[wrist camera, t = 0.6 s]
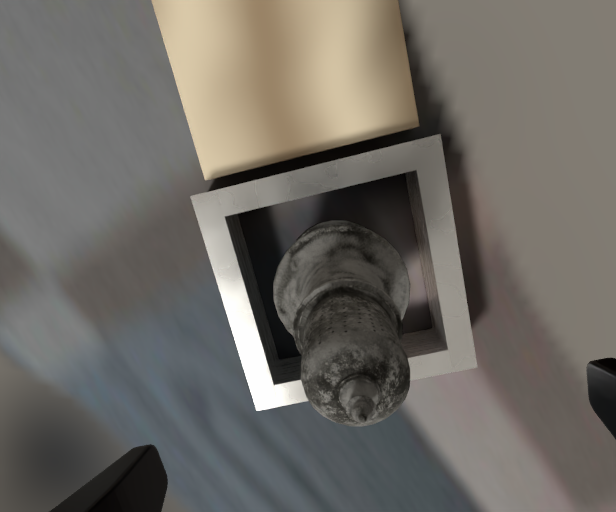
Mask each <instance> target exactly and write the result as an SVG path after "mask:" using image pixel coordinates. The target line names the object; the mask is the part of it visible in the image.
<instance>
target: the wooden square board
mask: <svg viewBox="0 0 616 512" xmlns="http://www.w3.org/2000/svg"><path fill="white" fill-rule="evenodd" d="M152 3H153V7H154V10H155V13H156V17H157V20H158V23H159V27H160V30H161V33H162V37H163V40H164V43H165V47H166V50H167V54H168V57H169V60H170V64H171V67H172V70H173V74H174V77H175V80H176V84H177V87H178V91H179V94H180V97H181V101H182V104H183V107H184V111H185V114H186V117H187V121H188V124H189V127H190V131H191V134H192V138H193V141H194V144H195V148H196V151H197V154H198V158H199V161H200V164H201V168H202V171H203V174H204V178H205V180H210V179H215V178H219V177H223V176H227V175H231V174H235V173H239V172H243V171H247V170H251V169H255V168H259V167H263V166H267V165H271V164H275V163H279V162H283V161H286V160H290V159H294V158H298V157H302V156H306V155H310V154H314V153H318V152H322V151H326V150H330V149H334V148H338V147H342V146H346V145H350V144H354V143H358V142H362V141H366V140H370V139H374V138H378V137H382V136H386V135H390V134H394V133H398V132H401V131H405V130H409V129H413V128H416V127H418V126H419V121H418V115H417V109H416V103H415V97H414V91H413V85H412V79H411V74H410V68H409V62H408V56H407V50H406V44H405V38H404V32H403V26H402V20H401V14H400V8H399V2H398V0H152Z"/></svg>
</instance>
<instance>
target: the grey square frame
mask: <svg viewBox="0 0 616 512" xmlns="http://www.w3.org/2000/svg"><path fill="white" fill-rule="evenodd" d="M402 173H405V178H406V183H407V189H408V194H409V200H410V205H411V211H412V216H413V222H414V227H415V233H416V238H417V244H418V249H419V255H420V260H421V266H422V271H423V277H424V282H425V288H426V293H427V299H428V304H429V310H430V315H431V321H432V326H433V328H430V329H425V330H420V331H416V332H411V333H406V334H402V339H401V344H402V346H403V349H404V351H405V353H406V355H407V358H408V362H409V366H410V381H411V380H416V379H421V378H426V377H432V376H437V375H442V374H447V373H452V372H457V371H462V370H467V369H472V368H477V362H476V355H475V349H474V343H473V336H472V330H471V324H470V317H469V311H468V305H467V298H466V292H465V286H464V279H463V273H462V267H461V260H460V254H459V248H458V241H457V235H456V229H455V222H454V216H453V210H452V203H451V197H450V191H449V184H448V178H447V172H446V165H445V159H444V153H443V146H442V140H441V134H438V135H434V136H430V137H426V138H422V139H418V140H414V141H410V142H406V143H402V144H398V145H394V146H390V147H386V148H382V149H378V150H374V151H370V152H366V153H362V154H358V155H354V156H350V157H346V158H342V159H338V160H334V161H330V162H326V163H322V164H318V165H314V166H310V167H306V168H302V169H298V170H294V171H290V172H286V173H282V174H278V175H274V176H270V177H266V178H262V179H258V180H254V181H250V182H246V183H242V184H238V185H234V186H230V187H226V188H222V189H218V190H214V191H210V192H206V193H202V194H198V195H193V196H190V197H191V200H192V203H193V206H194V210H195V213H196V216H197V219H198V222H199V226H200V229H201V232H202V235H203V239H204V242H205V245H206V248H207V252H208V255H209V258H210V261H211V265H212V268H213V271H214V274H215V277H216V281H217V284H218V287H219V290H220V294H221V297H222V300H223V303H224V307H225V310H226V313H227V316H228V319H229V323H230V326H231V329H232V332H233V336H234V339H235V342H236V345H237V349H238V352H239V355H240V358H241V362H242V365H243V368H244V371H245V374H246V378H247V381H248V384H249V387H250V391H251V394H252V397H253V400H254V404H255V407H256V410H257V411H259V410H264V409H269V408H274V407H279V406H284V405H290V404H295V403H300V402H305V401H309V400H308V399H307V397H306V394H305V391H304V388H303V385H302V381H301V359H302V355H300V356H295V357H290V358H286V359H281V360H279V358H278V354H277V351H276V347H275V344H274V340H273V337H272V333H271V330H270V326H269V322H268V319H267V315H266V312H265V308H264V305H263V301H262V298H261V294H260V291H259V287H258V284H257V280H256V277H255V273H254V270H253V266H252V263H251V259H250V256H249V252H248V249H247V245H246V242H245V238H244V235H243V231H242V228H241V224H240V221H239V217H238V214H237V213H241V212H245V211H250V210H254V209H258V208H262V207H266V206H270V205H274V204H278V203H282V202H287V201H291V200H295V199H299V198H303V197H307V196H311V195H315V194H319V193H324V192H328V191H332V190H336V189H340V188H344V187H348V186H352V185H357V184H361V183H365V182H369V181H373V180H377V179H381V178H385V177H389V176H394V175H398V174H402Z"/></svg>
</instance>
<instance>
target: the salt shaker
mask: <svg viewBox="0 0 616 512" xmlns="http://www.w3.org/2000/svg"><path fill="white" fill-rule="evenodd" d="M273 291H274V303H275V306H276V310H277V313H278V316H279V318H280V320H281V321H282V323H283V324H284V326H285V328H286V329H287V331H288V332H289V333H291V334H292V335H293V336H294V339H295V343H296V346H297V349H298V350H299V352H300V353H301V355H302V359H301V381H302V385H303V388H304V391H305V394H306V397H307V399H308V400H309V402H310V403H311V405H312V406H313V408H314V409H316V410H317V411H318V412H319V413H320V414H321V415H322V416H324V417H326V418H328V419H330V420H332V421H334V422H336V423H340V424H344V425H348V426H366V425H371V424H375V423H377V422H379V421H382V420H384V419H386V418H387V417H389V416H390V415H391V414H392V413H394V412H395V411H396V410H397V409H398V408H399V407H400V405H401V404H402V403H403V401H404V400H405V398H406V396H407V393H408V390H409V387H410V366H409V362H408V358H407V355H406V353H405V351H404V349H403V346H402V344H401V339H402V329H403V324H402V319H403V318H404V315H405V312H406V309H407V306H408V304H409V295H410V282H409V277H408V272H407V268H406V266H405V264H404V262H403V260H402V259H401V257H400V255H399V253H398V252H397V251H396V250H395V249H394V248H393V246H392V245H391V244H390V243H389V242H388V241H387V240H386V239H384V238H383V237H381V236H379V235H378V234H376V233H374V232H372V231H371V230H368V229H366V228H364V227H363V226H361V225H359V224H357V223H353V222H349V221H346V220H331V221H327V222H323V223H319V224H317V225H315V226H314V227H312V228H310V229H308V230H307V231H305V232H304V233H303V234H302V235H301V236H300V237H299V238H298V239H297V241H296V242H295V243H294V244H293V245H292V246H291V247H290V248H289V249H288V250H287V251H286V253H285V255H284V257H283V258H282V260H281V262H280V263H279V265H278V268H277V271H276V275H275V279H274V283H273Z"/></svg>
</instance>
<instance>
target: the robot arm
mask: <svg viewBox="0 0 616 512" xmlns="http://www.w3.org/2000/svg"><path fill="white" fill-rule="evenodd" d="M587 383H588V395H589V401H590V404H591V406H592V408H593V410H594V411H595V413H596V414H597V416H598V417H599V418H600V419H601V421H602V422H603V423H604V425H605V426H606V427H607V429H608V430H609V431H610V432H611V434H612V435H613V436H614V438H615V439H616V359H615V358H604V359H599V360H594V361H590V362H589V363H588V364H587ZM167 484H168V479H167V474H166V471H165V469H164V466H163V463H162V461H161V458H160V456H159V453H158V450H157V448H156V447H155V446H154V445H151V444H150V445H144V446H139V447H135V448H133V449H131V450H130V451H129V452H127V453H126V454H125V455H123V456H122V457H121V458H120V459H118V460H117V461H115V462H114V463H113V464H112V465H110V466H109V467H108V468H106V469H105V470H104V471H103V472H101V473H100V474H98V475H97V476H96V477H94V478H93V479H92V480H90V481H89V482H88V483H86V484H85V485H84V486H82V487H81V488H80V489H79V490H77V491H76V492H75V493H73V494H72V495H71V496H69V497H68V498H67V499H65V500H64V501H63V502H61V503H60V504H59V505H58V506H56V507H55V508H53V509H52V510H51V511H50V512H161V510H162V506H163V502H164V498H165V494H166V490H167Z"/></svg>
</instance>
